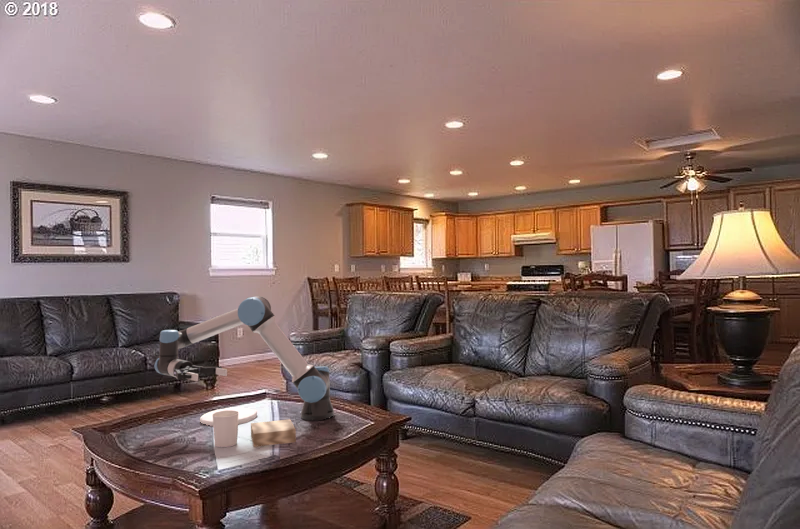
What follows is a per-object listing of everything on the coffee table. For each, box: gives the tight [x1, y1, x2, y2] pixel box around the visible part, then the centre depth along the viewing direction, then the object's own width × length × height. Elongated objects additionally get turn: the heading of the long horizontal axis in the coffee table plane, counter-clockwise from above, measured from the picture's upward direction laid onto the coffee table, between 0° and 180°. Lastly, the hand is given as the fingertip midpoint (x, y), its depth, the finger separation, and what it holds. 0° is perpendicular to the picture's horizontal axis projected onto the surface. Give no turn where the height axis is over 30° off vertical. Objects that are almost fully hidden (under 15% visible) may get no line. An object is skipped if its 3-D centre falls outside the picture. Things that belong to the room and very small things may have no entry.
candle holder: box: [212, 410, 239, 448], centre depth 214 cm, size 10×10×12 cm
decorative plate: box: [199, 406, 258, 427], centre depth 253 cm, size 25×4×25 cm
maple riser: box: [250, 418, 297, 448], centre depth 220 cm, size 16×16×5 cm
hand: (212, 375), depth 220 cm, fingers open, 13 cm apart
